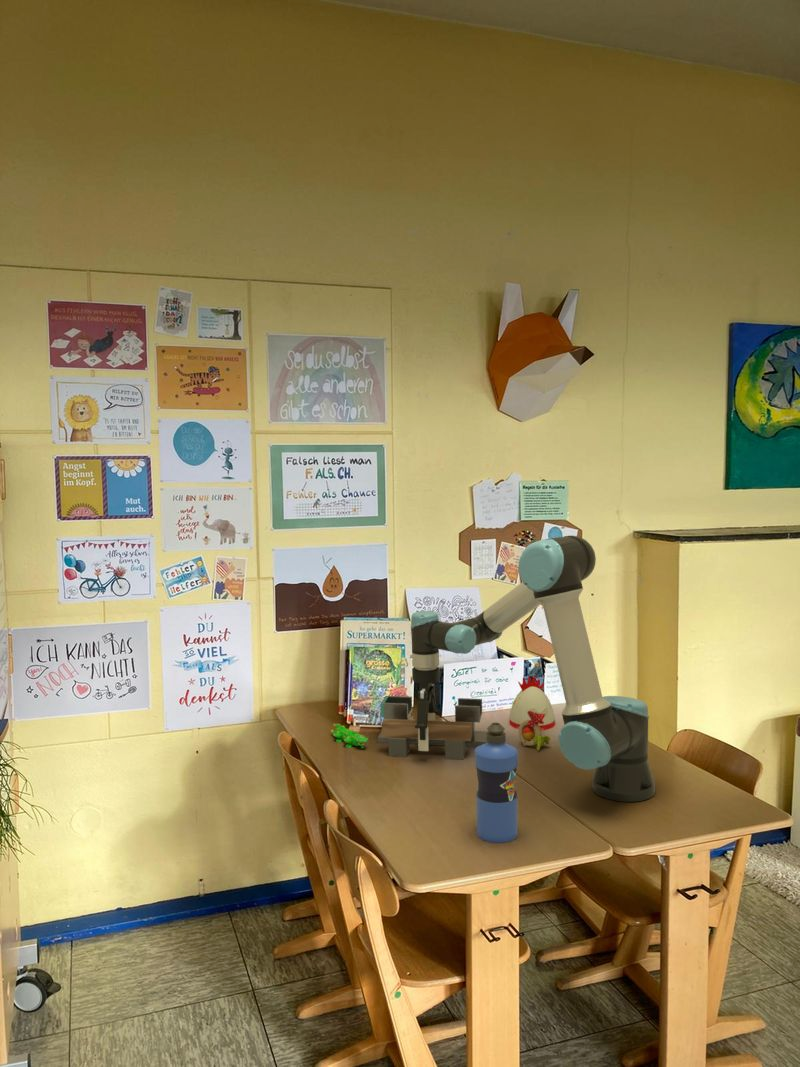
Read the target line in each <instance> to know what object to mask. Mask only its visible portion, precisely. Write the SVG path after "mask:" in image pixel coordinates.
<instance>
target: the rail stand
mask: <svg viewBox="0 0 800 1067" xmlns="http://www.w3.org/2000/svg"><path fill="white" fill-rule="evenodd" d="M379 704H380V705H379V707H380V711H379V712H380V718H383V720H384V719H401V720H409V718H410V716H411V714H412V712H413V696H406V695H403V696H402V695H401V696H399V695H385V697H384V698H383V699H382V700H381V701H380V703H379ZM482 716H483V699H482V698H463V697H458V698H457V704H455V706H454V718H455V719H454V720H455V721H454V722H472V739H471V741H466V747H472V748H473V747H475V748H477V747H478V746H480V745H483V744H485V743H487V741H486V733H487V732H489V731H488V730H487V731H483V730H482V731H481V730H476V723H481V719H482ZM376 739H377V743H381V744H382V743H383V744H385V743H387V744H388V738H387V737H382V730H380V732H379V734H378V735H377V738H376ZM428 741H429V746H434V745H435V746H445V740H433V739H428ZM410 745H418V739H410Z"/></svg>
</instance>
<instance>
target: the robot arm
mask: <svg viewBox="0 0 800 1067" xmlns="http://www.w3.org/2000/svg"><path fill="white" fill-rule="evenodd" d="M596 558H597V557H596V553H595V549H594V548H593V546H592V545H591V544H590V542H588V541H587V540H586V539H585V538H582V537H580V536H578V535H565V536H561V537H550V538H542V539H541V540H538V541H534V542H532V543H530V544H529V545H527V546H526V547H525V548H524V549H523V551H522V553H521V554H520V557H519V560H518V566H517V567H518V569H517V570H518V575H519V578H520V580H521V583H519V584H518V585H516V586H515V587H514V588H513V589H511V590H510V591H509V592H508V593H506V594H504V595H503V596H502V597H500V598H499V599H498V600H497V601H495V602H494V603H493V604H492V605H490V606H489V607H487V608H486V609H485V610H484V611H482V612H481V613H480V614H478V615H477V616H475V617H472V618H467V619H463V620H460V621H456V622H445V621H440V620H439V619H440V618H439V614H438V612H436V611H433V610H420V611H419V610H418V611H415V612H413V613H412V614H411V620H410V621H411V622H410V635H411V654H410V655H409V658H410V659H412V660H411V663H412V664H411V665H412V667H413V668H412V670H411V677H412V681H413V682H414V683H416V684H419V687H417V688H418V689H417V705H416V706H417V714H416V720H417V725H415V728H418V744H417V746H418V747H417V748H418V749H417V750H418V751H419V752H429V749H430V748H429V746H430V745H429V741H428V725H427V723H428V721H436V713H438V708H436V707H437V703H436V693H435V683H437V682H439V681H440V668H439V666H440V650H441V651H446V652H451V653H454V654H457V655H458V654H462V655H463V654H464V655H465V654H469V653H471V651H472V650H474V648H475V647H476V646H479V645H482V644H486V643H491V642H494V641H495V640H498V639H499V638H500V637H501V636H502V635H503V632H504V631H505V630H507V629H508V628H509V627H511V626H512V625H513V624H515V623H516V622H518V621H520V620H521V619H523V618H524V617H525V616H527V615H528V614H530V613H531V612H532V611H534V610H535V609H536V608H538V607H539V606H541V605H542V608H543V612H544V616H545V620H546V625H547V629H548V633H549V636H550V641H551V646H552V650H553V654H554V657H555V662H556V666H557V671H558V675H559V679H560V684H561V688H562V691H563V695H564V700H565V706H564V708H563V709H562V710H561V716H562V720H563V724H564V725H563V726H562V727H561V729H560V732H559V733H558V745H559V747H560V751H561V753H562V755H563V756H564V757H565V759H566V760H567V761H568V762H570V763H572V764H573V766H574V767H576V768H578V769H582V770H587V771H591V770H594V771H593V774H592V777H591V789H592V791H593V792H594V793H595V794H596V795H598V796H600V797H603V798H605V799H608V800H611V801H617V802H625V803H628V802H629V803H630V802H631V803H632V802H633V803H634V802H642V801H646V800H649V799H651V798H653V797H654V796H655V794H656V782H655V778H654V776H653V773H652V770H651V766H650V763H649V759H648V757H649V755H648V753H649V719H650V718H649V717H650V716H649V712H648V710H649V708H648V705H647V703H646V702H644V701H643V700H641V699H637V698H634V697H627V696H620V695H607V696H606V695H605V696H603V694H602V690H601V684H600V681H599V676H598V672H597V669H596V668H597V667H596V664H595V661H594V656H593V652H592V648H591V644H590V640H589V635H588V631H587V628H586V624H585V619H584V615H583V611H582V607H581V602H580V599H579V598H580V595H581V594H582V592H583V590H584V587H583V584H582V581H584V580H586V579H588V578H589V576H590V575H591V574H592V573H593V571H594V569H595V567H596V562H597V559H596ZM420 723H424V724H420Z"/></svg>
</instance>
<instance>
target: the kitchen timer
mask: <svg viewBox="0 0 800 1067" xmlns="http://www.w3.org/2000/svg"><path fill="white" fill-rule="evenodd" d="M540 681H541V679H540V678H538V679H537V680H536V676H534V675H533V677H532V679H531V676H528V677H527V682H526V679H525V677H524V676H522V683H521V682H519V681H517V682H518V685H519V687H520V689H521V690H520V691H519V692H518V693H517V695H516V697H515V698H514V700H513V702H512V705H511V709H510V711H509V716H508V719H509V725H510V726H511V727H513V728H514V729H517V730H519V727H520V725H521V723H522V722H524V721H526V720H531V719H530V717H529V715H528V713H527V712H528V711H531V712H532V711H533V712H534V713H535V712H537V713H538V714H545V717H544V718H543V722H544V723H543V724H540V723H538V724H539V727H540V729H541V732H542V731H547V730H550V729H552V728H554V727H555V725H556V724H555V723H556V722H555V721H556V720H555V714H554V713H555V712H554V710H553V707H552V704H551V700H550V699H549V697H548V696H547V695H546V693H545V692H544V691H543V688H544V686H545V682H542V683H541V685H540ZM534 731H535V730H534Z"/></svg>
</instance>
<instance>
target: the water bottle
mask: <svg viewBox="0 0 800 1067" xmlns="http://www.w3.org/2000/svg"><path fill="white" fill-rule="evenodd" d="M486 730H487V731H488V732H487V733H486V741H487V743H485V744H483V745H480V746H478V747H475V749H474V765H475V770H476V777H477V790H476V794H475V797H476V798H475V799H476V800H475V802H476V804H475V806H476V807H475V808H476V809H475V810H476V811H475V812H476V836H477V837H478V838H479V839H480V840H482V841H485V842H488V843H494V844H503V843H504V844H505V843H508V842H509V843H510V842H512V841H514V840H515V839H516V838H518V833H519V831H518V830H519V828H518V827H519V826H518V824H519V823H518V820H519V819H518V818H519V817H518V814H519V813H518V794H517V786H516V778H517V767H518V766H519V765H518V762H519V761H518V758H519V755H518V753H519V752H518V749H517V748H516V746H513V745H511V744H508V743H506V741H507V738H506V733H505V730H506V728H505V727H504V726H503V725H502V724H501V723H500V722H492V723H491V724H490V725H489V726H488V727H486Z"/></svg>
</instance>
